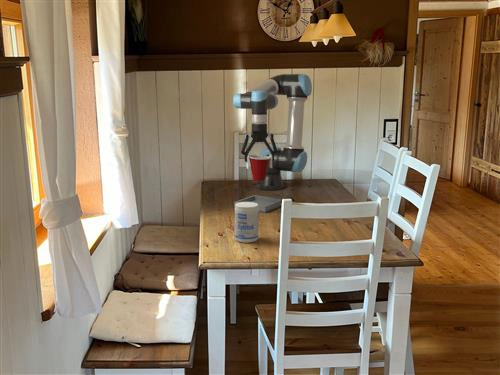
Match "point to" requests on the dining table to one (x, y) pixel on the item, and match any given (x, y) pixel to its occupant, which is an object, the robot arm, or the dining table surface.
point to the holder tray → (263, 202)
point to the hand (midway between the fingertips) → (259, 167)
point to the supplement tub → (246, 221)
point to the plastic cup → (258, 166)
